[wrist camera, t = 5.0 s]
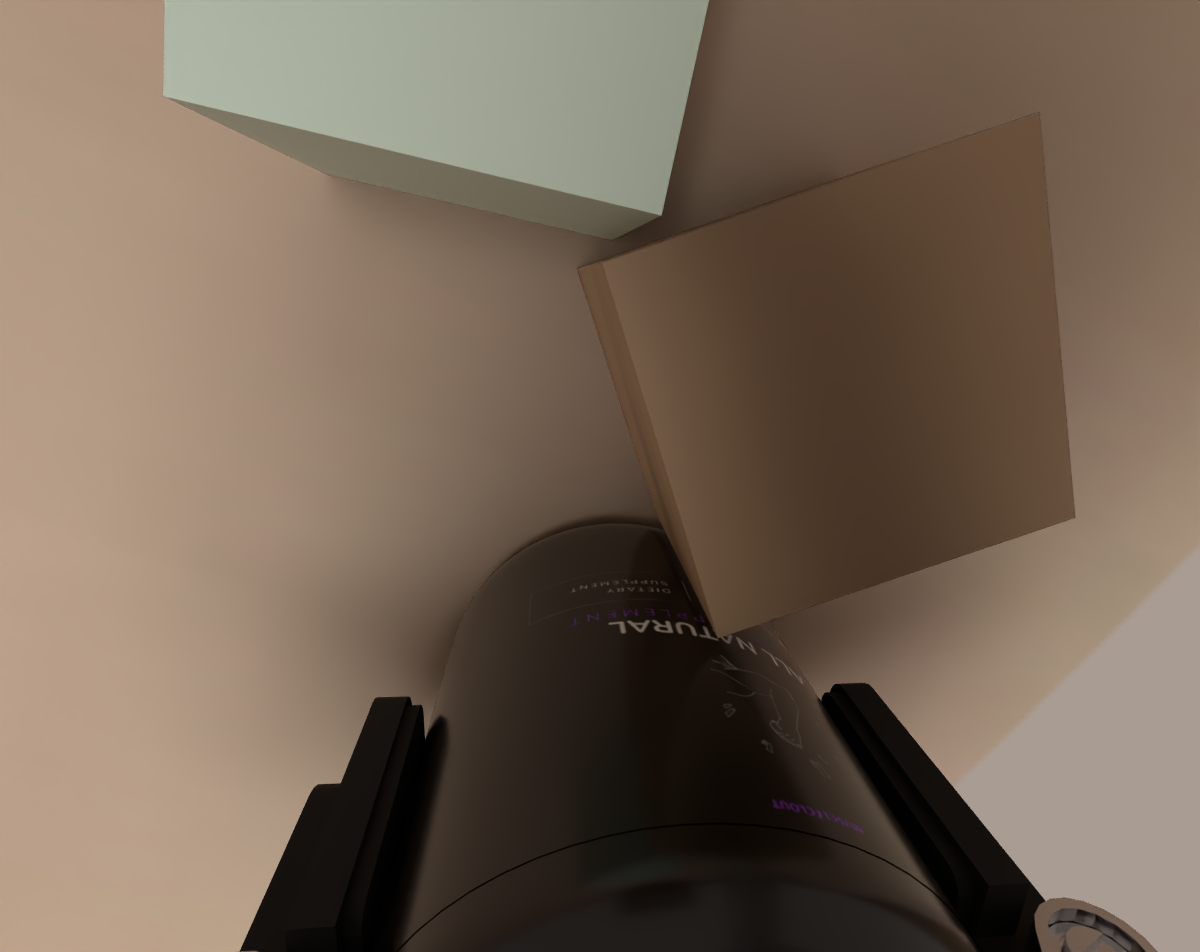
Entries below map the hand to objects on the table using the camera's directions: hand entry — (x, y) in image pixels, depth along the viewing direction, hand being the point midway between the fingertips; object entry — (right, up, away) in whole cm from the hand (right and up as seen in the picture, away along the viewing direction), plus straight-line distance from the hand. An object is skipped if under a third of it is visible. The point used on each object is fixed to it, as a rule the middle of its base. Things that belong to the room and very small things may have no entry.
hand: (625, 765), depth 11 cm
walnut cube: (+2, +7, +2) cm, 8 cm away
